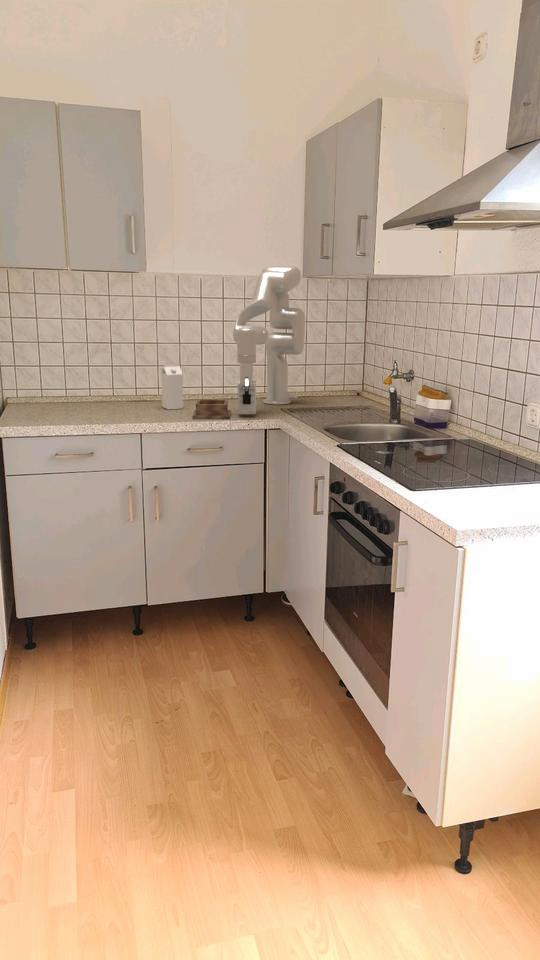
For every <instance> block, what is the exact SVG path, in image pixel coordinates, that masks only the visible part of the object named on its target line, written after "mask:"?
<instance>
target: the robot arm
mask: <svg viewBox="0 0 540 960" xmlns="http://www.w3.org/2000/svg"><path fill="white" fill-rule="evenodd" d="M301 280H302V273H301V270H300V269H299V267H297V266H294V265H292V266H291V265H288V266H287V265H270V266H269V265H268V266H265V267H263V268H262V270H261V272H260V273H259V274H258V276H257V281H256V283H255V288H254V291H253V294H252V299H251V301H250V303H249V304H247V305H246V306H245V307H244V308H243V309H241V311H240V312H239V313H238V315H237V316H236V319H235V323H234V326H233V332H232V337H233V340H234V341H235V343H236V349H237V350H236V352H237V354H236V356H237V357H236V358H237V362H236V363H238V364H239V381H240V388H241V387H243V404H251V394H250V388H251V387H252V381H254V380H253V379H254V377H253V376H254V375H253V374H254V364H256V362H257V346H258V345H259V346H260V345H264V344H265V350H266V351H265V353H266V398H265V399H263V401H262V402H263V404H267V405H277V406H278V405H289V404H291V402H292V401H291V400H298V394H290V393H289V391H288V389H289V387H288V386H289V384H288V383H289V381H288V380H289V378H288V377H289V364H288V361H287V358H286V357H285V356H284V355H293V356H295V355H296V356H298V355H301V354H302V353H303V351H304V347H305V335H306V333H305V332H306V331H305V330H306V316H305V312H304V310H303V309H302V308H299V307H290V294H289V292H291V291H292V290H293V289H296V287H298V286H299V284H300V282H301ZM268 312H269V325H270V326H269V327H271V328H272V329H275V330H288V331H290V330H291V331H292V332H279V331H276V332H270V333H269V332H268V329H267V328H266V327H264V326H261V325H247V323H248V322H250V320H253V319H254V318H256V317H258V316H261V315H262V314H266V313H268ZM244 383H245V387H244ZM248 383H249V384H250V385H249V387H248Z"/></svg>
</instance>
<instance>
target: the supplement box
mask: <svg viewBox="0 0 540 960" xmlns="http://www.w3.org/2000/svg"><path fill="white" fill-rule="evenodd" d="M249 385H250V384H249V383H248V387H249ZM244 387H245V383H244ZM250 394H251V404H243V387H241V388H240V380H238V382H237V414H238V415H256V413H257V380H252V387H251V388H250Z"/></svg>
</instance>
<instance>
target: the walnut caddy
mask: <svg viewBox="0 0 540 960" xmlns="http://www.w3.org/2000/svg"><path fill="white" fill-rule="evenodd" d="M228 401H229V400H228V399H197V401H196V403H195V409H194V410H193V411H194V412H193V414H192V417H191V418H192V420H231V414H232V410H231V409H229V406H228V405H229V404H228V403H229V402H228Z"/></svg>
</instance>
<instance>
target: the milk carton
mask: <svg viewBox="0 0 540 960" xmlns="http://www.w3.org/2000/svg"><path fill="white" fill-rule="evenodd" d="M160 375H161V376H160V377H161V403H162V404H161V405H162V406H161V407H162V408H163V409H166V410H179V409H184V382H183V379H184V378H183V371H182V368H181V364H180V363H170V364H169V363H166V364H163V367H162V370H161V374H160Z"/></svg>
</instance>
